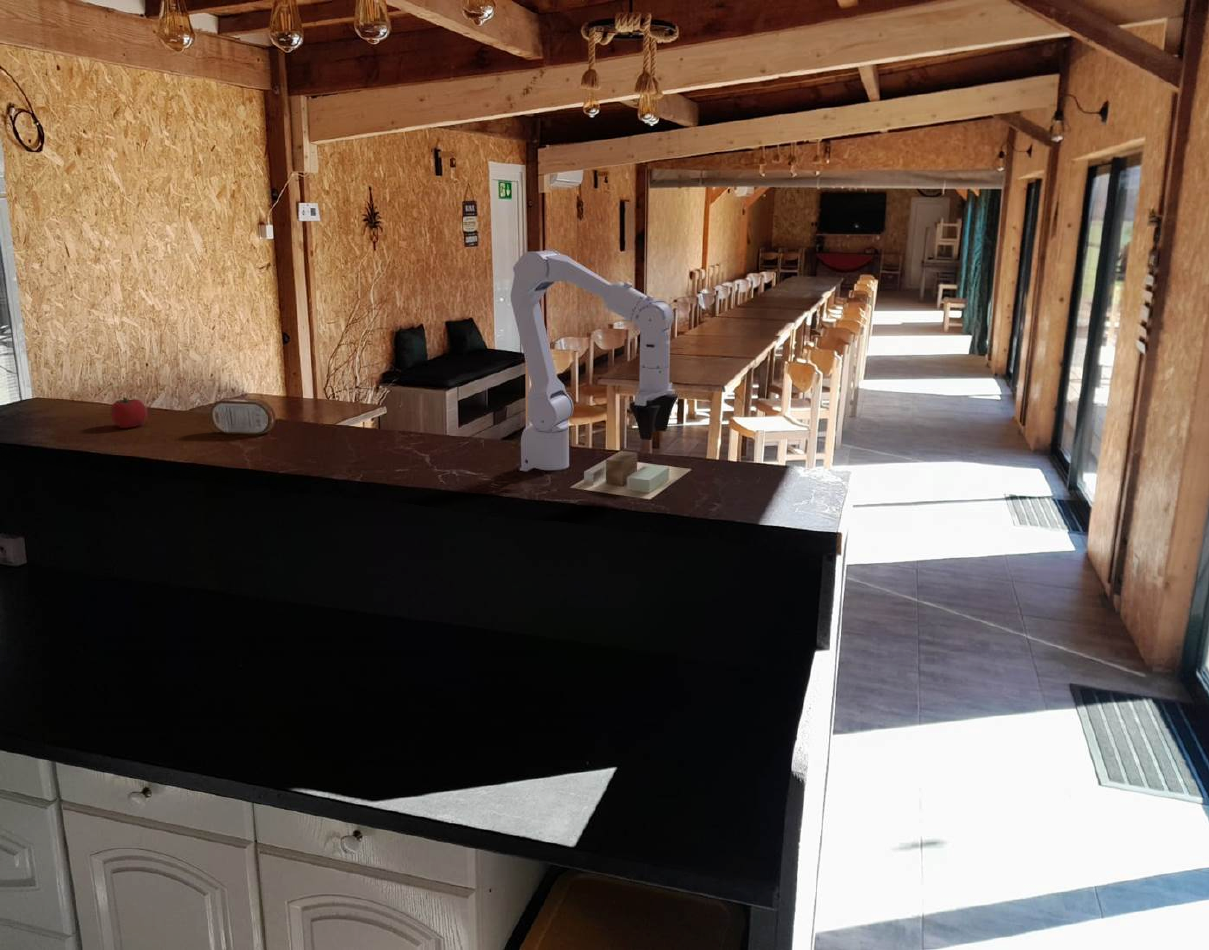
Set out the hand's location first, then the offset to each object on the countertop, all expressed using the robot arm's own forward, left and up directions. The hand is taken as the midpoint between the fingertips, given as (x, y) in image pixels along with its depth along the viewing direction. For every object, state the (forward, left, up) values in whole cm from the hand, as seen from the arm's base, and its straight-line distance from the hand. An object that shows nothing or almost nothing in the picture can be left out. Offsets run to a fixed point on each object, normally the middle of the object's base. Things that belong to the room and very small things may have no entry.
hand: (653, 435), depth 184 cm
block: (-4, -5, -9) cm, 11 cm away
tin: (-102, -7, -10) cm, 103 cm away
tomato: (-132, -14, -10) cm, 133 cm away
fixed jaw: (-9, -6, -10) cm, 14 cm away
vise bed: (-3, -3, -10) cm, 10 cm away
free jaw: (+1, -5, -8) cm, 10 cm away
